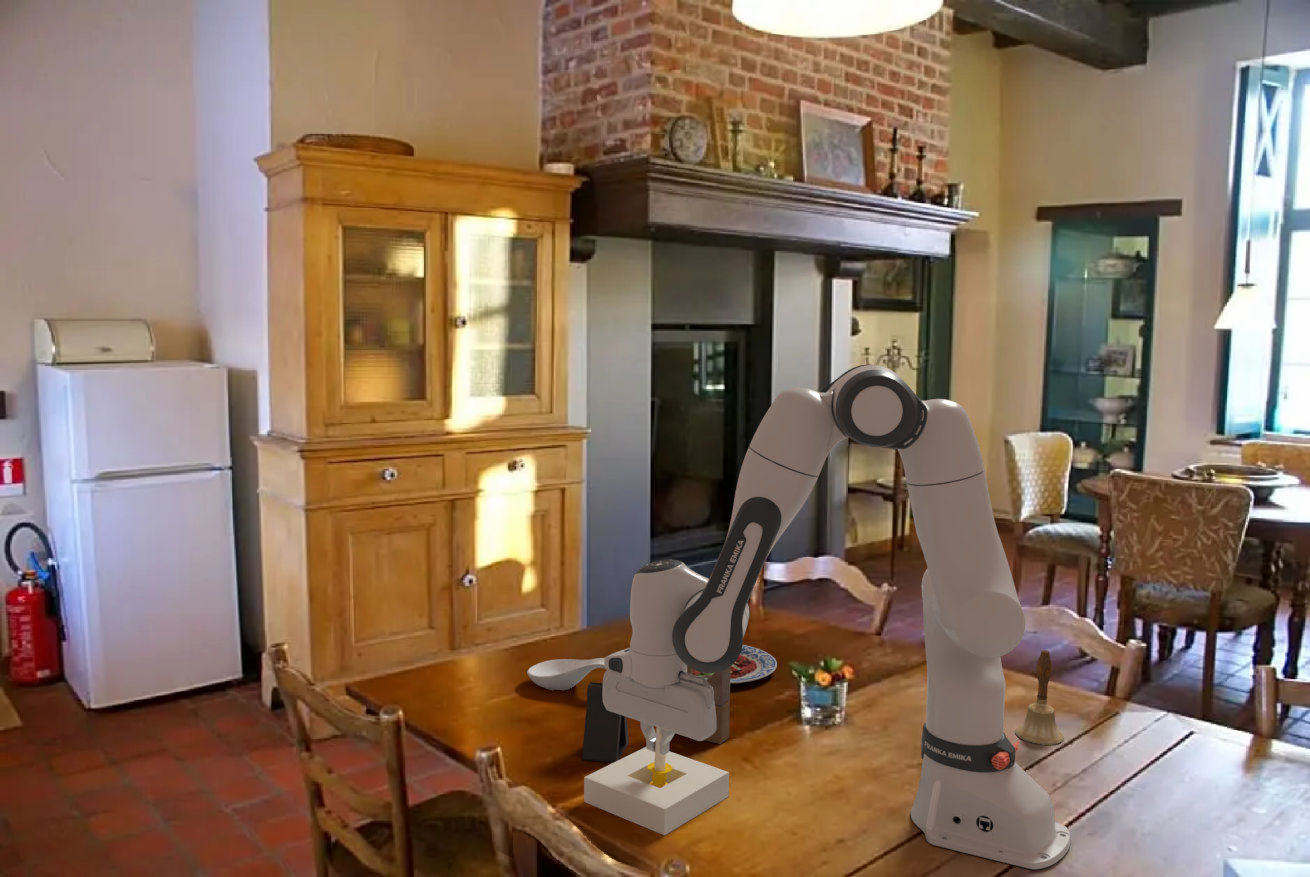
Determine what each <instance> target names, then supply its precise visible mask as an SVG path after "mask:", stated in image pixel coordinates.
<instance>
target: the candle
mask: <svg viewBox="0 0 1310 877" xmlns="http://www.w3.org/2000/svg"><path fill="white" fill-rule="evenodd" d="M655 727H656V726H655ZM655 733H656V748H655V749H656V750H655V762H653V763H650V764H649V765H648V766H647V768H648V770H649V771H651V772H653V776H652V782H650V783H649V784H650V785H653V786H655V787H658V788H662V787H664V786H665V785H667V784H668V783H667V782H666V779H667V777H666V774H667V773H668V772H670V771H671V770H672V766H671V765H670V764H668V763H665V761H666V754H665V755H662V754H660V744H659V743H660V741H661V739H662V737H663V735H662V734H660V728H659V727H656V728H655Z"/></svg>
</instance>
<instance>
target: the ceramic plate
mask: <svg viewBox="0 0 1310 877" xmlns="http://www.w3.org/2000/svg"><path fill="white" fill-rule="evenodd" d="M777 662H778V661H777V660H776V658H775V657H774V656H773V655H771V654H770V653H768V652H766V651H764V650H762V649H760V648H756V647H754V646H750V645H746V644H743V645H742V650H741V653H740V655H739V657H738V659H737V660H736V662H735V663H734V664H733V665H732V666H731V669H730V685H731V684H742V683H746V682H747V683H748V682H753V681H756V680H760V679H763V678H765V677H768V676H769V675H772V673H774V672H775V670H776V669H777V666H778V663H777ZM713 674H714V673H703V672H699V671H696V670H694V669H693V674H692V675H694V676H697V677H698V676H699V677H703V678H705V679H706V680H707V679H708V678H709V677H710V676H712V675H713Z"/></svg>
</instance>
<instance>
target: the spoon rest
mask: <svg viewBox="0 0 1310 877" xmlns="http://www.w3.org/2000/svg"><path fill="white" fill-rule="evenodd" d="M604 659H605V657H598V658H592V659H571V658H569V659H568V658H567V659H566V658H563V659H562V658H561V659H551V660H545V661H542V662H539V663H537V664H534V665H533V666H530V667H529V668H528V670H527V672H526V673H527V675H528V677H529V678H530V680H531V681H532V682H533V683H534V684H535V685H538V686H539V687H541V688H543V689H547V690H549V691H554V690H562V691H567V690H570V688H571V689H573V688H574V687H575V686H576V685H577V684H579V682H581V681H582V680H583V679H584V678H585V677H586V676H587V675H588V674H589V673H590V672H591V671H593V670H595V669H605V670H607V669H606V668H605V665H604ZM572 687H573V688H572Z"/></svg>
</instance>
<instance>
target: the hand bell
mask: <svg viewBox="0 0 1310 877" xmlns="http://www.w3.org/2000/svg"><path fill="white" fill-rule="evenodd" d="M1052 671H1053V664H1052V659H1051V655H1050V650H1046V649H1043V650H1041V651H1040V654H1039V657H1038V659H1037V662H1036V678H1037V682H1038V683H1037V684H1038V688H1037V696H1036V697H1037V698H1036V702H1033V703H1030V704H1029V705H1028V707H1027V712H1026V715H1025V718H1024V720H1023V722H1022V723H1021V724H1020V725H1018V726H1017V728H1016V729H1015V730H1014V731H1015V732H1014V733H1015V735H1016V736H1017V737H1018V738H1019V739H1021V740H1023V741H1025V742H1028V743H1031V742H1032V743H1031V744H1035V743H1037V744H1036V745H1040V744H1045V745H1044V746H1054V745H1053V744H1056V745H1059V744H1058V743H1060V742H1062V743H1063V742H1064V741H1065V737H1064V735H1063V733H1062V732H1061V731H1060V730H1059V728H1058V725H1057V723H1056V717H1055V716H1056V714H1055V712H1056V711H1055V708H1053V706H1051V705H1049V704H1048V686H1049V682H1050V680H1051V678H1052ZM1060 744H1061V743H1060Z"/></svg>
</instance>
